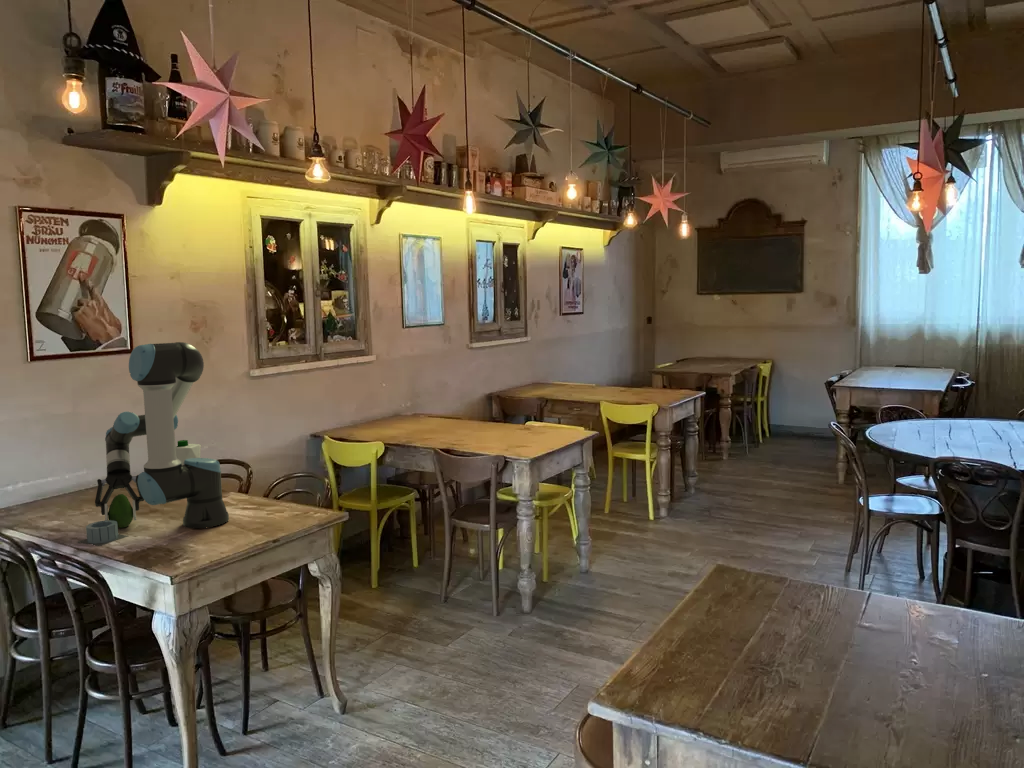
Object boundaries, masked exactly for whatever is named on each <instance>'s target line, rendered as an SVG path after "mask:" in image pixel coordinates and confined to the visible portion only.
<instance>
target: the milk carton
mask: <svg viewBox="0 0 1024 768" xmlns="http://www.w3.org/2000/svg"><path fill="white" fill-rule="evenodd" d="M175 447H176V458H177V459H179V460H180V461H181V464H182V465H184V460H186V459H190V458H201V448H202V444H198V443H189V440H186V439H181V440H177V446H175Z"/></svg>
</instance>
